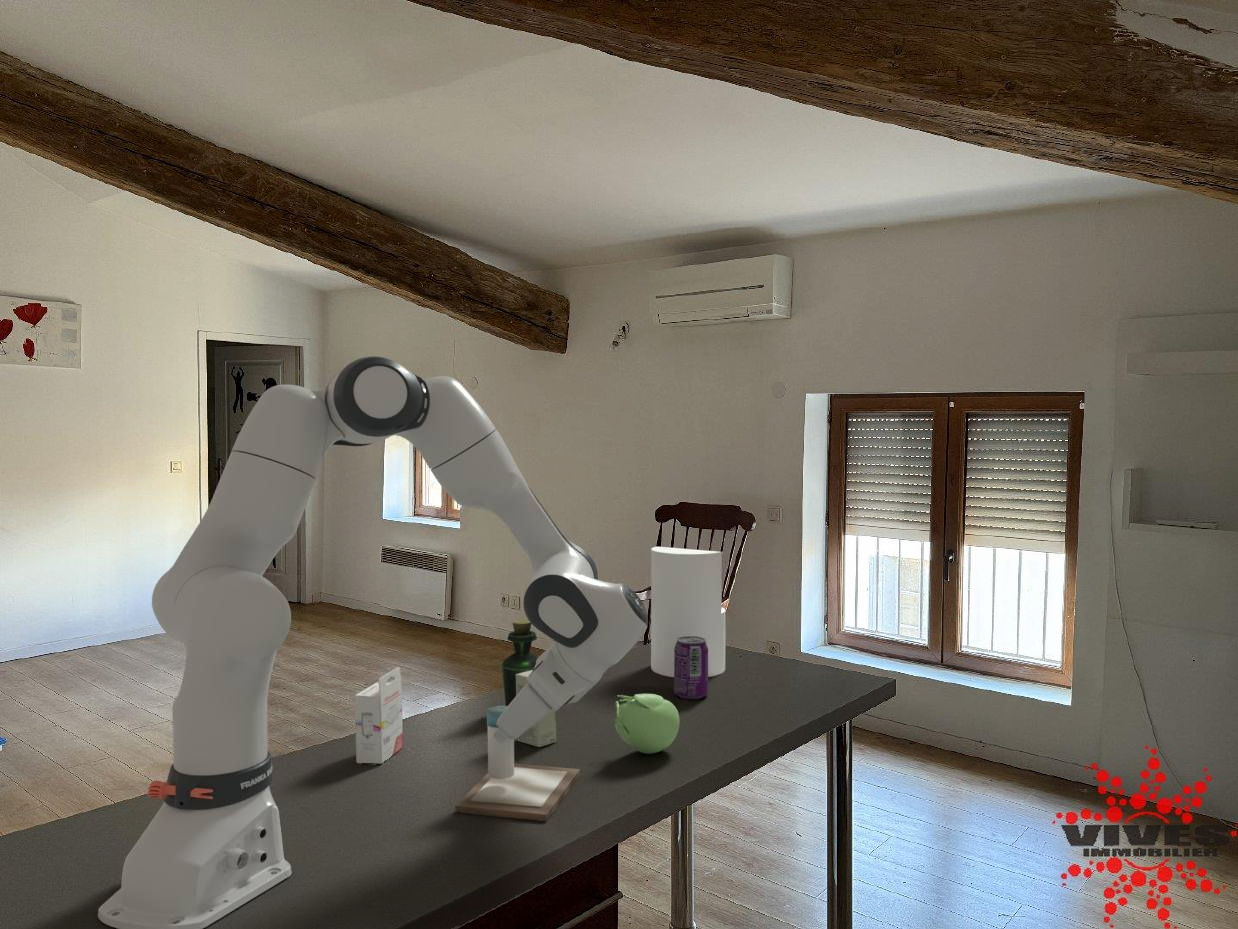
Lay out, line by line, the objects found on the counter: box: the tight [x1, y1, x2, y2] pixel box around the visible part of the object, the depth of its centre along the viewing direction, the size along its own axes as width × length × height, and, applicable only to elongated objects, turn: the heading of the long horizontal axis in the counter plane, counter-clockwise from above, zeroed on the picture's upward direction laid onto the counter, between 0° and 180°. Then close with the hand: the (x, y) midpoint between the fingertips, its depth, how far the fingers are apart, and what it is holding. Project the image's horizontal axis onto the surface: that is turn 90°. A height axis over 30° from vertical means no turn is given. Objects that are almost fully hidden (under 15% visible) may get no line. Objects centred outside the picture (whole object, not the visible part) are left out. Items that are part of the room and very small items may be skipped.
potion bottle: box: [501, 619, 540, 706], centre depth 184 cm, size 8×8×18 cm
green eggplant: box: [614, 693, 680, 755], centre depth 160 cm, size 12×11×11 cm
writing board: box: [454, 763, 581, 822], centre depth 143 cm, size 18×14×1 cm
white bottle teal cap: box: [486, 705, 515, 779], centre depth 143 cm, size 4×4×10 cm
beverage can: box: [673, 636, 709, 700], centre depth 195 cm, size 7×7×12 cm
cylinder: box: [650, 546, 726, 678], centre depth 217 cm, size 17×17×28 cm
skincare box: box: [516, 670, 557, 748], centre depth 167 cm, size 6×4×12 cm
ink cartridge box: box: [354, 666, 404, 764], centre depth 159 cm, size 9×5×15 cm, turn 168°
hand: (504, 732), depth 142 cm, fingers closed on white bottle teal cap, 4 cm apart
